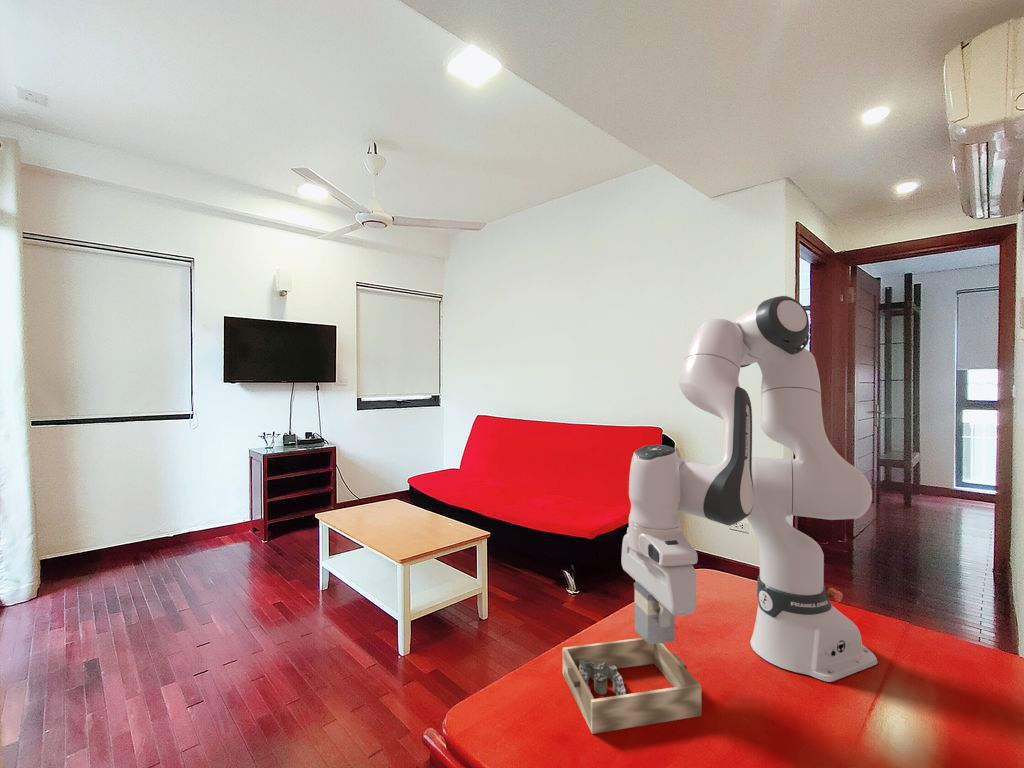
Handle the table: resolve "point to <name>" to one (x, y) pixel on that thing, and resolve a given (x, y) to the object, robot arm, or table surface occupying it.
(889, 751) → the table surface
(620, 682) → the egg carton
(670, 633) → the tin
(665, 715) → the tote
